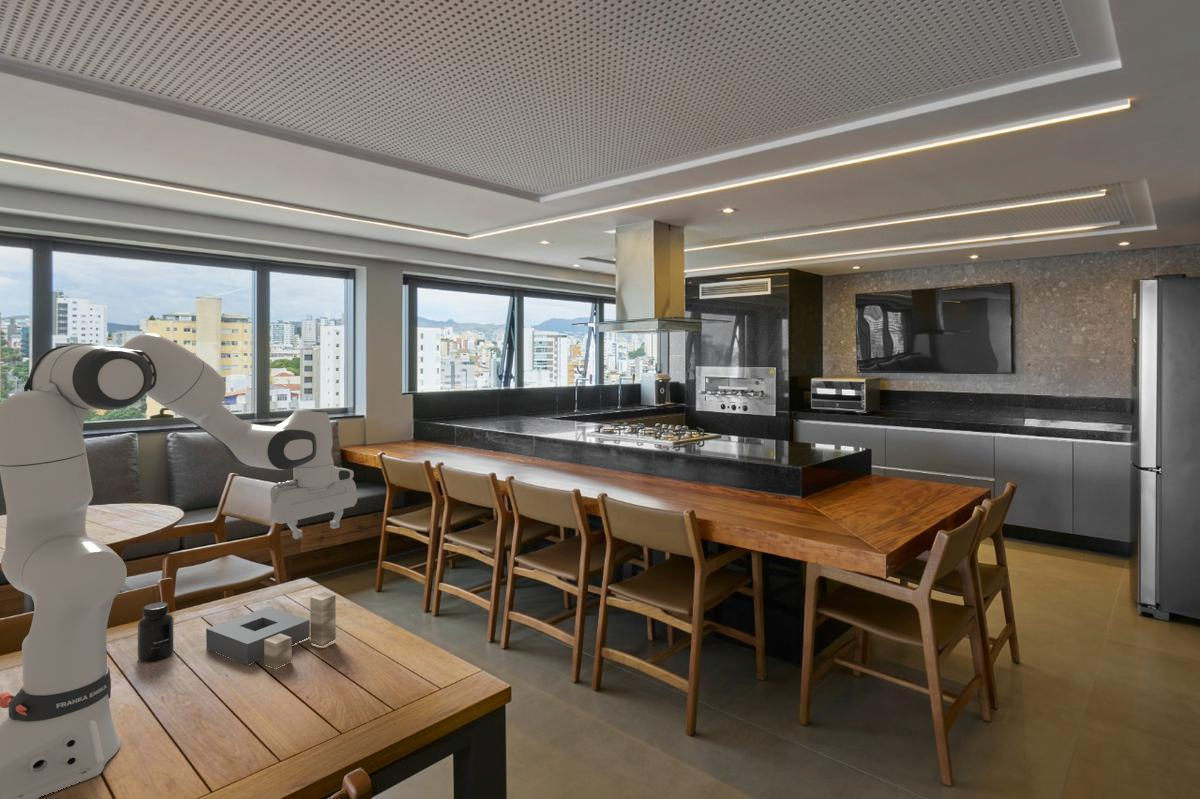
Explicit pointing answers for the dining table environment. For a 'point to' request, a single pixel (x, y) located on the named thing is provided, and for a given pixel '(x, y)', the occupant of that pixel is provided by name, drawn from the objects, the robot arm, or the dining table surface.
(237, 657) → the socket block
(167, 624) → the supplement bottle
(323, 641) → the tall pin
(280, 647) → the short pin
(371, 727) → the dining table surface
